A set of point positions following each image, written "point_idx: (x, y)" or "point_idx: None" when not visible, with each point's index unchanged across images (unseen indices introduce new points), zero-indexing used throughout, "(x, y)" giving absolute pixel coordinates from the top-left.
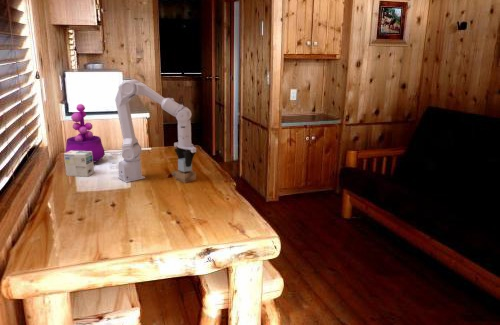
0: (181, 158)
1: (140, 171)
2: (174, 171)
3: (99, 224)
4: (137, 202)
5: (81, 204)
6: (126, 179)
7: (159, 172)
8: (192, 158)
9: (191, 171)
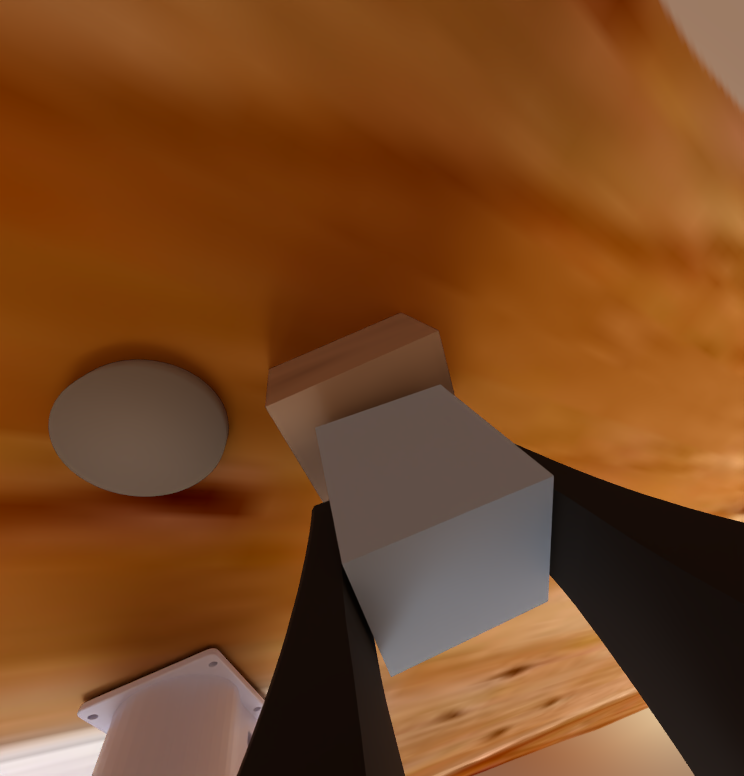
0: (382, 635)
1: (197, 737)
2: (79, 470)
3: (605, 663)
4: (543, 618)
5: (454, 737)
6: (253, 726)
7: (27, 578)
8: (648, 503)
9: (402, 376)
